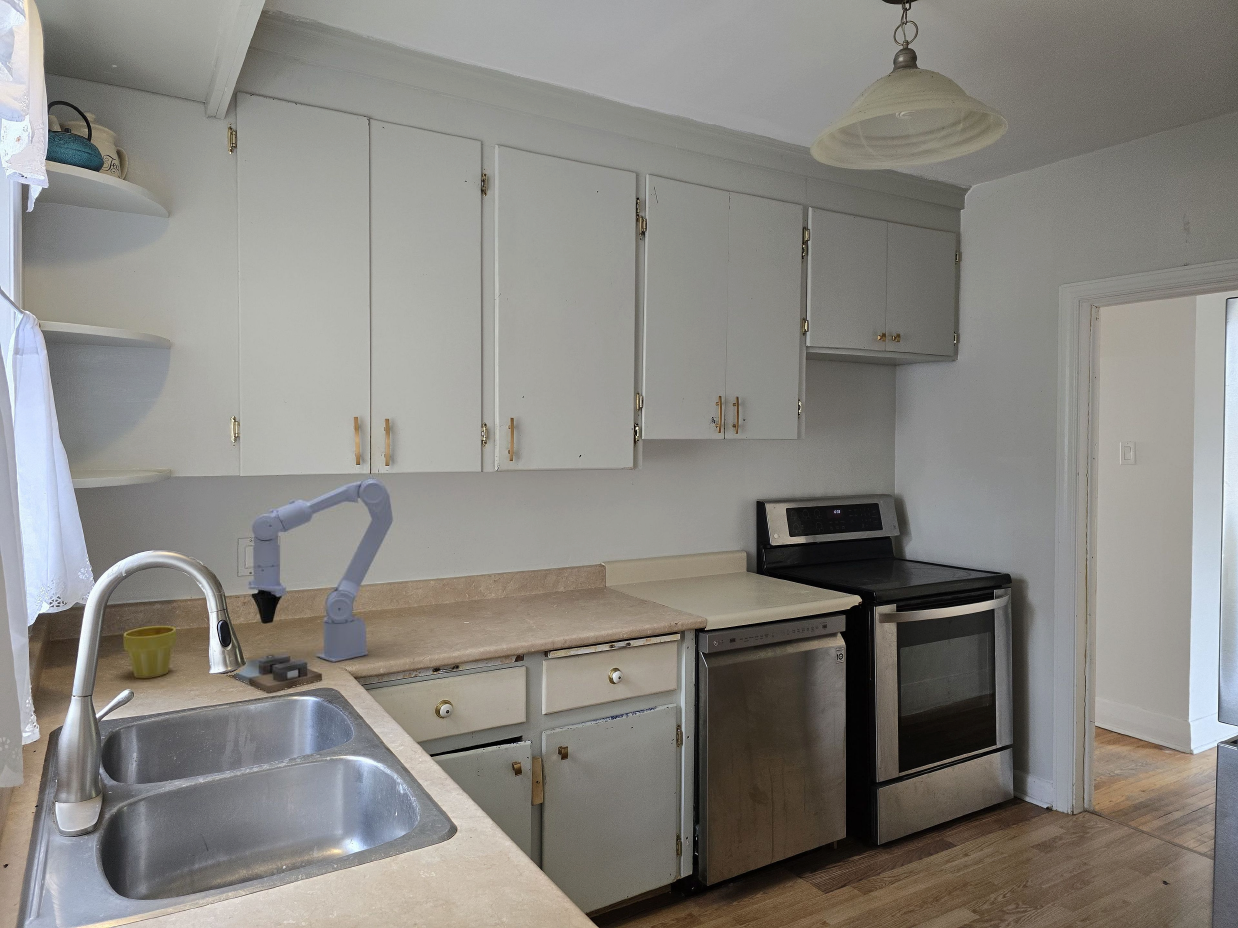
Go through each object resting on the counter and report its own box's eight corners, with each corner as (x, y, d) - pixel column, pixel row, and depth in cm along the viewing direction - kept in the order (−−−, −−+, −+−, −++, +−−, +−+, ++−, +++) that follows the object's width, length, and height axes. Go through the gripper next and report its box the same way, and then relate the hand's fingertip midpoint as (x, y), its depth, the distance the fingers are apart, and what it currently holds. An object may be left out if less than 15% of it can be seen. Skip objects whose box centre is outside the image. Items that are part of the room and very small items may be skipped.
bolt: (273, 667, 187) (273, 653, 186) (298, 676, 179) (298, 662, 179) (263, 669, 185) (263, 656, 185) (287, 679, 178) (287, 665, 177)
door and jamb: (273, 662, 197) (273, 643, 196) (321, 680, 182) (321, 660, 182) (222, 672, 187) (222, 653, 187) (268, 693, 173) (268, 671, 173)
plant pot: (117, 682, 180) (117, 637, 180) (131, 669, 190) (130, 627, 190) (171, 678, 183) (170, 634, 183) (181, 666, 193) (180, 624, 192)
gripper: (235, 564, 197) (236, 620, 198) (264, 570, 188) (265, 630, 188) (264, 560, 203) (265, 615, 203) (294, 567, 193) (294, 625, 194)
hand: (267, 622), depth 196 cm, fingers closed
